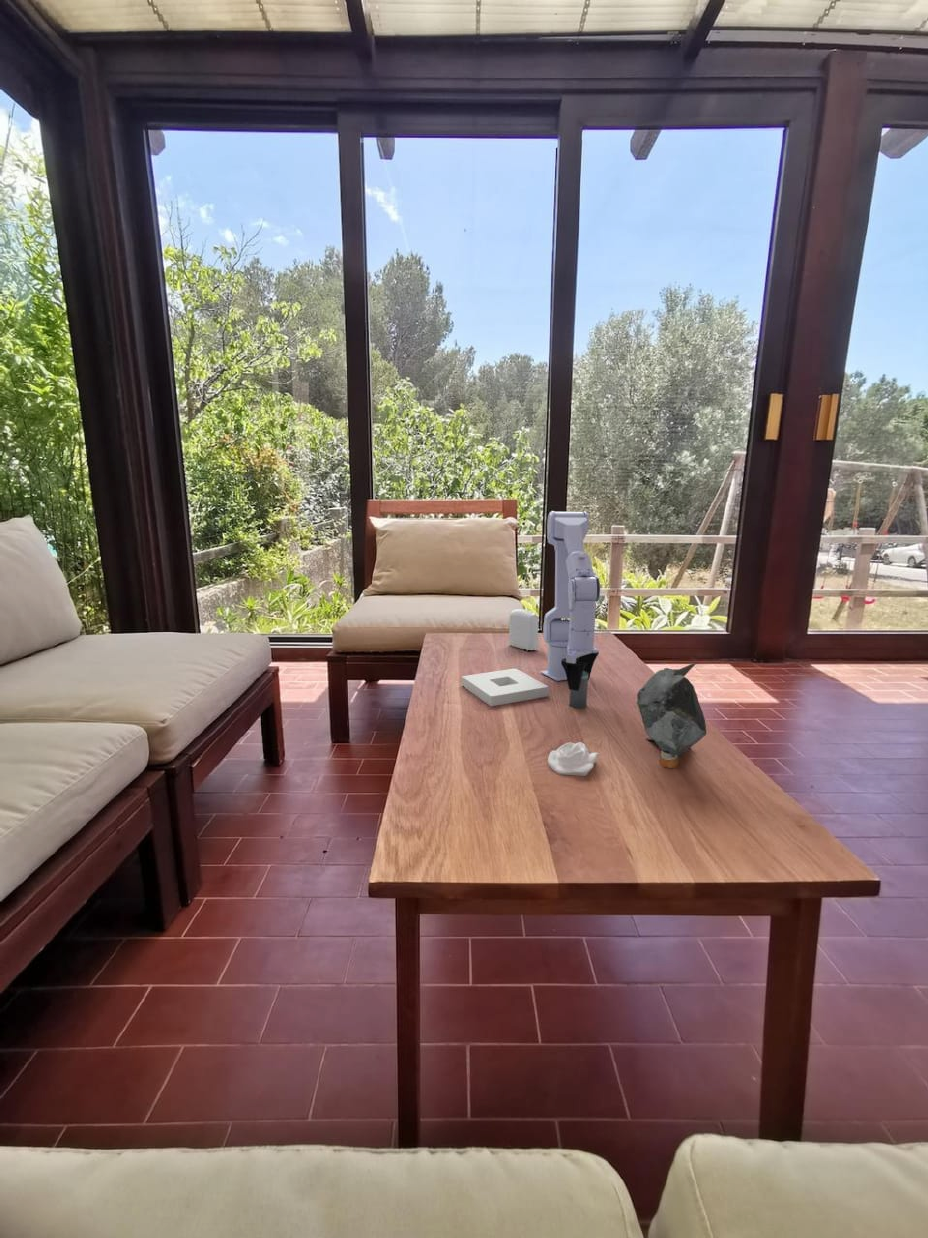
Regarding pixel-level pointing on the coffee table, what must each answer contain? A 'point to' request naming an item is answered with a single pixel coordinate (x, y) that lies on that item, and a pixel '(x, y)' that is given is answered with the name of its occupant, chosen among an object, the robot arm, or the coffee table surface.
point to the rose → (572, 759)
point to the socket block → (504, 687)
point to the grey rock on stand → (671, 713)
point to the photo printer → (523, 629)
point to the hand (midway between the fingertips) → (578, 685)
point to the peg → (580, 693)
